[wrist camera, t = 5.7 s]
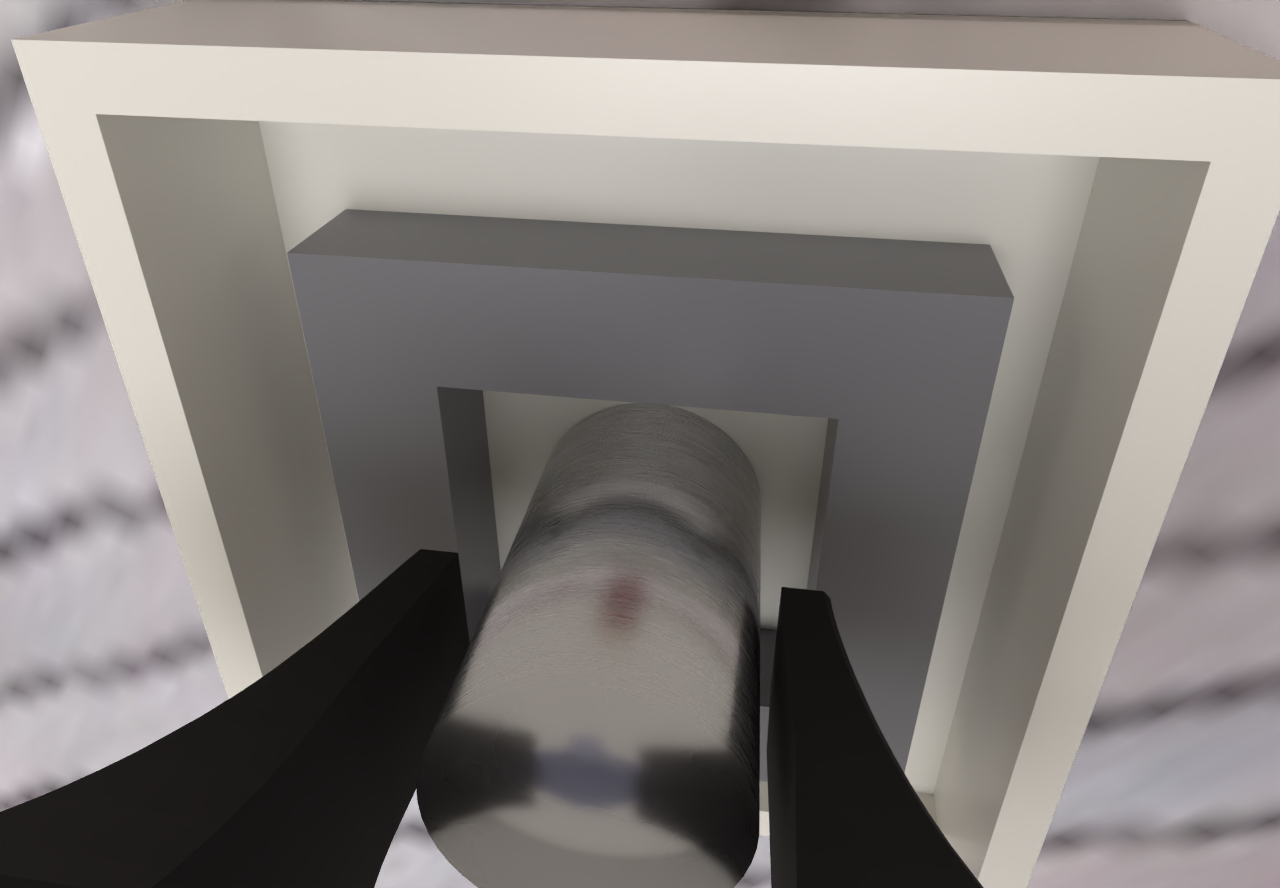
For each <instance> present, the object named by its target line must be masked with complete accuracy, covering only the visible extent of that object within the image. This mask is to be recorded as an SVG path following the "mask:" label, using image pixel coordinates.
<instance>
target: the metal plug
mask: <svg viewBox="0 0 1280 888" xmlns="http://www.w3.org/2000/svg"><path fill="white" fill-rule="evenodd" d="M760 590H761V495H760V490H759V484H758V481H757V478H756V475H755V472H754V469H753V467H752V465H751V463H750V461H749V459H748V458H747V456H746V455H745V454H744V452H743V451H742V449H741V448H740V447H739V446H738V444H737V443H736V442H735V441H734V440H733V439H732V438H731V437H730V436H729V435H728V434H727V433H725V432H724V431H723V430H722V429H721V428H719V427H718V426H716V425H715V424H713V423H712V422H710V421H709V420H707V419H705V418H703V417H701V416H699V415H697V414H695V413H692V412H690V411H687V410H684V409H681V408H677V407H673V406H668V405H658V404H646V403H633V404H626V405H619V406H616V407H612V408H608V409H605V410H602V411H600V412H598V413H595V414H593V415H591V416H589V417H587V418H586V419H584V420H582V421H581V422H579V423H578V424H577V425H575V426H574V427H573V428H571V429H570V430H569V431H568V432H567V433H566V434H565V435H564V436H563V437H562V438H561V439H560V441H559V442H558V444H557V445H556V446H555V448H554V449H553V451H552V453H551V455H550V457H549V459H548V461H547V463H546V466H545V468H544V470H543V473H542V475H541V478H540V480H539V482H538V485H537V487H536V489H535V492H534V494H533V496H532V499H531V501H530V503H529V506H528V508H527V511H526V513H525V515H524V518H523V520H522V522H521V525H520V527H519V529H518V532H517V534H516V537H515V539H514V541H513V544H512V546H511V548H510V551H509V553H508V555H507V558H506V560H505V562H504V565H503V567H502V570H501V572H500V574H499V577H498V579H497V581H496V584H495V586H494V588H493V591H492V593H491V595H490V598H489V600H488V603H487V605H486V607H485V610H484V612H483V614H482V617H481V619H480V621H479V624H478V626H477V629H476V631H475V633H474V636H473V638H472V640H471V643H470V645H469V647H468V650H467V652H466V654H465V657H464V659H463V662H462V664H461V666H460V669H459V671H458V673H457V676H456V678H455V680H454V683H453V685H452V687H451V690H450V692H449V695H448V697H447V699H446V702H445V704H444V706H443V709H442V711H441V713H440V716H439V718H438V721H437V723H436V725H435V728H434V730H433V732H432V735H431V737H430V739H429V742H428V744H427V746H426V749H425V751H424V754H423V756H422V759H421V763H420V766H419V769H418V776H417V786H416V788H417V800H418V805H419V809H420V813H421V817H422V820H423V822H424V824H425V826H426V829H427V831H428V833H429V835H430V837H431V838H432V840H433V841H434V843H435V845H436V846H437V848H438V849H439V850H440V852H441V853H442V854H443V855H444V856H445V858H446V859H447V860H448V861H449V862H450V863H451V864H452V865H453V866H454V867H455V868H456V869H457V870H458V871H459V872H460V873H461V874H462V875H463V876H464V877H466V878H467V879H468V880H469V881H471V882H472V883H473V884H474V885H476V886H477V887H478V888H734V887H735V886H736V884H737V883H738V882H739V881H740V880H741V879H742V877H743V876H744V874H745V873H746V871H747V869H748V868H749V866H750V864H751V863H752V860H753V857H754V855H755V852H756V849H757V844H758V838H759V822H760Z"/></svg>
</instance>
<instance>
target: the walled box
mask: <svg viewBox="0 0 1280 888" xmlns="http://www.w3.org/2000/svg"><path fill="white" fill-rule="evenodd" d="M11 41H12V44H13V47H14V50H15V53H16V56H17V59H18V62H19V65H20V68H21V71H22V74H23V77H24V80H25V83H26V86H27V89H28V92H29V95H30V98H31V101H32V104H33V107H34V110H35V113H36V117H37V120H38V123H39V126H40V129H41V132H42V135H43V138H44V141H45V144H46V147H47V150H48V153H49V156H50V159H51V162H52V165H53V168H54V171H55V174H56V177H57V180H58V183H59V186H60V189H61V192H62V195H63V198H64V201H65V204H66V208H67V211H68V214H69V217H70V220H71V223H72V226H73V229H74V232H75V235H76V238H77V241H78V244H79V247H80V250H81V253H82V256H83V259H84V262H85V265H86V268H87V271H88V274H89V277H90V280H91V283H92V286H93V289H94V292H95V295H96V298H97V302H98V305H99V308H100V311H101V314H102V317H103V320H104V323H105V326H106V329H107V332H108V335H109V338H110V341H111V344H112V347H113V350H114V353H115V356H116V359H117V362H118V365H119V368H120V371H121V374H122V377H123V380H124V383H125V386H126V389H127V393H128V396H129V399H130V402H131V405H132V408H133V411H134V414H135V417H136V420H137V423H138V426H139V429H140V432H141V435H142V438H143V441H144V444H145V447H146V450H147V453H148V456H149V459H150V462H151V465H152V468H153V471H154V474H155V477H156V480H157V483H158V487H159V490H160V493H161V496H162V499H163V502H164V505H165V508H166V511H167V514H168V517H169V520H170V523H171V526H172V529H173V532H174V535H175V538H176V541H177V544H178V547H179V550H180V553H181V556H182V559H183V562H184V565H185V568H186V571H187V574H188V578H189V581H190V584H191V587H192V590H193V593H194V596H195V599H196V602H197V605H198V608H199V611H200V614H201V617H202V620H203V623H204V626H205V629H206V632H207V635H208V638H209V641H210V644H211V647H212V650H213V653H214V656H215V659H216V662H217V665H218V668H219V672H220V675H221V678H222V681H223V684H224V687H225V690H226V693H227V696H228V699H230V698H231V697H233V696H234V695H236V694H238V693H239V692H241V691H242V690H244V689H245V688H247V687H248V686H250V685H251V684H253V683H254V682H256V681H257V680H259V679H260V678H262V677H263V676H264V675H266V674H267V673H269V672H270V671H272V670H273V669H274V668H276V667H277V666H278V665H280V664H281V663H282V662H284V661H285V660H286V659H287V658H289V657H290V656H291V655H293V654H294V653H295V652H297V651H298V650H299V649H301V648H302V647H303V646H305V645H306V644H307V643H309V642H310V641H311V640H313V639H314V638H315V637H316V636H318V635H319V634H320V633H321V632H323V631H324V630H325V629H326V628H327V627H329V626H330V625H331V624H332V623H333V622H335V621H336V620H337V619H338V618H340V617H341V616H342V615H343V614H344V613H346V612H347V611H348V610H349V609H350V608H352V607H353V606H354V605H355V604H356V603H358V602H359V601H360V600H361V599H362V598H363V597H365V596H366V595H367V594H368V593H369V592H370V591H372V590H373V589H374V588H375V587H376V586H377V585H379V584H380V583H381V582H382V581H383V580H384V579H385V578H387V577H388V576H389V575H390V574H391V573H392V572H394V571H395V570H396V569H397V568H398V567H399V566H400V565H402V564H403V563H404V562H405V561H406V560H408V559H409V558H410V557H411V556H413V555H414V554H415V553H416V552H417V551H419V550H420V549H427V550H436V551H446V552H455V553H458V555H459V563H460V571H461V578H462V586H463V594H464V602H465V609H466V617H467V625H468V633H469V641H470V643H471V640H472V638H473V636H474V633H475V631H476V629H477V626H478V624H479V621H480V619H481V617H482V614H483V612H484V610H485V607H486V605H487V603H488V600H489V598H490V595H491V593H492V591H493V588H494V586H495V584H496V581H497V579H498V577H499V574H500V572H501V570H502V567H503V565H504V562H505V560H506V558H507V555H508V553H509V551H510V548H511V546H512V544H513V541H514V539H515V537H516V534H517V532H518V529H519V527H520V525H521V522H522V520H523V518H524V515H525V513H526V511H527V508H528V506H529V503H530V501H531V499H532V496H533V494H534V492H535V489H536V487H537V485H538V482H539V480H540V478H541V475H542V473H543V470H544V468H545V466H546V463H547V461H548V459H549V457H550V455H551V453H552V451H553V449H554V448H555V446H556V445H557V444H558V442H559V441H560V439H561V438H562V437H563V436H564V435H565V434H566V433H567V432H568V431H569V430H570V429H571V428H573V427H574V426H575V425H577V424H578V423H579V422H581V421H582V420H584V419H586V418H587V417H589V416H591V415H593V414H595V413H598V412H600V411H602V410H605V409H608V408H612V407H616V406H619V405H626V404H633V403H646V404H658V405H668V406H673V407H677V408H681V409H684V410H687V411H690V412H692V413H695V414H697V415H699V416H701V417H703V418H705V419H707V420H709V421H710V422H712V423H713V424H715V425H716V426H718V427H719V428H721V429H722V430H723V431H724V432H725V433H727V434H728V435H729V436H730V437H731V438H732V439H733V440H734V441H735V442H736V443H737V444H738V446H739V447H740V448H741V449H742V451H743V452H744V454H745V455H746V456H747V458H748V459H749V461H750V463H751V465H752V467H753V469H754V472H755V475H756V478H757V481H758V484H759V490H760V495H761V590H760V822H759V835H765V836H770V831H769V805H768V778H767V736H768V720H769V705H770V690H771V679H772V670H773V661H774V652H775V642H776V633H777V624H778V615H779V605H780V596H781V587H788V588H798V589H807V590H817V591H824V592H825V593H826V594H827V595H828V596H829V597H830V599H831V604H832V609H833V613H834V617H835V620H836V624H837V627H838V630H839V633H840V636H841V639H842V642H843V645H844V648H845V650H846V653H847V656H848V658H849V661H850V664H851V666H852V668H853V671H854V673H855V676H856V678H857V680H858V683H859V685H860V687H861V689H862V691H863V694H864V696H865V698H866V700H867V703H868V705H869V707H870V709H871V711H872V713H873V715H874V717H875V719H876V721H877V724H878V726H879V728H880V730H881V731H882V733H883V735H884V737H885V739H886V741H887V743H888V745H889V747H890V748H891V750H892V752H893V754H894V756H895V758H896V759H897V761H898V763H899V765H900V766H901V768H902V770H903V772H904V773H905V775H906V777H907V779H908V780H909V782H910V784H911V785H912V787H913V788H914V790H915V792H916V793H917V795H918V796H919V798H920V800H921V801H922V803H923V804H924V806H925V807H926V809H927V811H928V812H929V814H930V815H931V817H932V818H933V820H934V821H935V822H936V824H937V825H938V827H939V828H940V830H941V831H942V833H943V834H944V836H945V837H946V839H947V840H948V842H949V843H950V844H951V846H952V847H953V848H954V850H955V851H956V852H957V854H958V855H959V856H960V858H961V859H962V860H963V861H964V863H965V864H966V865H967V867H968V868H969V869H970V871H971V872H972V873H973V874H974V876H975V877H976V878H977V880H978V881H979V882H980V884H981V885H982V886H983V887H984V888H1027V885H1028V883H1029V880H1030V877H1031V875H1032V872H1033V869H1034V867H1035V864H1036V861H1037V859H1038V856H1039V853H1040V851H1041V848H1042V845H1043V843H1044V840H1045V837H1046V835H1047V832H1048V829H1049V826H1050V824H1051V821H1052V818H1053V816H1054V813H1055V810H1056V808H1057V805H1058V802H1059V800H1060V797H1061V794H1062V792H1063V789H1064V786H1065V784H1066V781H1067V778H1068V776H1069V773H1070V770H1071V768H1072V765H1073V762H1074V760H1075V757H1076V754H1077V752H1078V749H1079V746H1080V743H1081V741H1082V738H1083V735H1084V733H1085V730H1086V727H1087V725H1088V722H1089V719H1090V717H1091V714H1092V711H1093V709H1094V706H1095V703H1096V701H1097V698H1098V695H1099V693H1100V690H1101V687H1102V685H1103V682H1104V679H1105V677H1106V674H1107V671H1108V668H1109V666H1110V663H1111V660H1112V658H1113V655H1114V652H1115V650H1116V647H1117V644H1118V642H1119V639H1120V636H1121V634H1122V631H1123V628H1124V626H1125V623H1126V620H1127V618H1128V615H1129V612H1130V610H1131V607H1132V604H1133V602H1134V599H1135V596H1136V594H1137V591H1138V588H1139V585H1140V583H1141V580H1142V577H1143V575H1144V572H1145V569H1146V567H1147V564H1148V561H1149V559H1150V556H1151V553H1152V551H1153V548H1154V545H1155V543H1156V540H1157V537H1158V535H1159V532H1160V529H1161V527H1162V524H1163V521H1164V519H1165V516H1166V513H1167V510H1168V508H1169V505H1170V502H1171V500H1172V497H1173V494H1174V492H1175V489H1176V486H1177V484H1178V481H1179V478H1180V476H1181V473H1182V470H1183V468H1184V465H1185V462H1186V460H1187V457H1188V454H1189V452H1190V449H1191V446H1192V444H1193V441H1194V438H1195V436H1196V433H1197V430H1198V427H1199V425H1200V422H1201V419H1202V417H1203V414H1204V411H1205V409H1206V406H1207V403H1208V401H1209V398H1210V395H1211V393H1212V390H1213V387H1214V385H1215V382H1216V379H1217V377H1218V374H1219V371H1220V369H1221V366H1222V363H1223V361H1224V358H1225V355H1226V353H1227V350H1228V347H1229V344H1230V342H1231V339H1232V336H1233V334H1234V331H1235V328H1236V326H1237V323H1238V320H1239V318H1240V315H1241V312H1242V310H1243V307H1244V304H1245V302H1246V299H1247V296H1248V294H1249V291H1250V288H1251V286H1252V283H1253V280H1254V278H1255V275H1256V272H1257V269H1258V267H1259V264H1260V261H1261V259H1262V256H1263V253H1264V251H1265V248H1266V245H1267V243H1268V240H1269V237H1270V235H1271V232H1272V229H1273V227H1274V224H1275V221H1276V219H1277V216H1278V213H1279V211H1280V60H1278V59H1276V58H1273V57H1271V56H1269V55H1266V54H1264V53H1262V52H1259V51H1257V50H1255V49H1252V48H1250V47H1248V46H1245V45H1243V44H1241V43H1238V42H1236V41H1234V40H1231V39H1229V38H1227V37H1224V36H1222V35H1220V34H1217V33H1215V32H1213V31H1211V30H1208V29H1206V28H1204V27H1201V26H1199V25H1197V24H1194V23H1192V22H1190V21H1175V20H1134V19H1092V18H1050V17H1009V16H967V15H925V14H884V13H842V12H800V11H758V10H717V9H675V8H633V7H592V6H550V5H508V4H467V3H425V2H383V1H341V0H187V1H183V2H178V3H174V4H169V5H165V6H160V7H156V8H151V9H147V10H142V11H138V12H133V13H129V14H124V15H120V16H115V17H111V18H106V19H102V20H97V21H93V22H88V23H84V24H79V25H75V26H70V27H66V28H61V29H57V30H52V31H48V32H43V33H39V34H34V35H30V36H25V37H21V38H16V39H12V40H11Z"/></svg>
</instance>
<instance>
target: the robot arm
mask: <svg viewBox="0 0 1280 888" xmlns="http://www.w3.org/2000/svg"><path fill="white" fill-rule="evenodd" d="M469 645H470V641H469V633H468V625H467V617H466V609H465V602H464V594H463V586H462V578H461V571H460V563H459V555H458V553H455V552H446V551H436V550H427V549H420V550H419V551H417V552H416V553H415V554H414V555H413V556H411V557H410V558H409V559H408V560H406V561H405V562H404V563H403V564H402V565H400V566H399V567H398V568H397V569H396V570H395V571H394V572H392V573H391V574H390V575H389V576H388V577H387V578H385V579H384V580H383V581H382V582H381V583H380V584H379V585H377V586H376V587H375V588H374V589H373V590H372V591H370V592H369V593H368V594H367V595H366V596H365V597H363V598H362V599H361V600H360V601H359V602H358V603H356V604H355V605H354V606H353V607H352V608H350V609H349V610H348V611H347V612H346V613H344V614H343V615H342V616H341V617H340V618H338V619H337V620H336V621H335V622H333V623H332V624H331V625H330V626H329V627H327V628H326V629H325V630H324V631H323V632H321V633H320V634H319V635H318V636H316V637H315V638H314V639H313V640H311V641H310V642H309V643H307V644H306V645H305V646H303V647H302V648H301V649H299V650H298V651H297V652H295V653H294V654H293V655H291V656H290V657H289V658H287V659H286V660H285V661H284V662H282V663H281V664H280V665H278V666H277V667H276V668H274V669H273V670H272V671H270V672H269V673H267V674H266V675H264V676H263V677H262V678H260V679H259V680H257V681H256V682H254V683H253V684H251V685H250V686H248V687H247V688H245V689H244V690H242V691H241V692H239V693H238V694H236V695H234V696H233V697H231V698H230V699H228V700H227V701H225V702H223V703H222V704H220V705H219V706H217V707H216V708H214V709H212V710H211V711H209V712H207V713H206V714H204V715H202V716H201V717H199V718H197V719H196V720H194V721H192V722H190V723H188V724H186V725H185V726H183V727H181V728H179V729H177V730H176V731H174V732H172V733H170V734H168V735H167V736H165V737H163V738H161V739H159V740H157V741H156V742H154V743H152V744H150V745H148V746H147V747H145V748H143V749H141V750H139V751H137V752H135V753H133V754H131V755H129V756H127V757H125V758H123V759H121V760H119V761H117V762H115V763H113V764H111V765H109V766H107V767H105V768H103V769H101V770H99V771H96V772H94V773H92V774H90V775H88V776H85V777H83V778H81V779H79V780H77V781H74V782H72V783H70V784H68V785H66V786H63V787H61V788H59V789H56V790H54V791H52V792H49V793H47V794H45V795H42V796H40V797H37V798H35V799H32V800H30V801H27V802H25V803H22V804H20V805H17V806H14V807H12V808H9V809H7V810H4V811H2V812H0V888H374V886H375V883H376V880H377V878H378V875H379V872H380V869H381V866H382V864H383V861H384V859H385V856H386V854H387V852H388V849H389V847H390V844H391V842H392V840H393V837H394V835H395V833H396V831H397V829H398V826H399V824H400V822H401V820H402V818H403V816H404V814H405V811H406V809H407V807H408V805H409V803H410V801H411V799H412V796H413V794H414V792H415V790H416V786H417V776H418V769H419V766H420V763H421V759H422V756H423V754H424V751H425V749H426V746H427V744H428V742H429V739H430V737H431V735H432V732H433V730H434V728H435V725H436V723H437V721H438V718H439V716H440V713H441V711H442V709H443V706H444V704H445V702H446V699H447V697H448V695H449V692H450V690H451V687H452V685H453V683H454V680H455V678H456V676H457V673H458V671H459V669H460V666H461V664H462V662H463V659H464V657H465V654H466V652H467V650H468V647H469ZM767 778H768V805H769V831H770V858H771V884H772V888H984V887H983V886H982V885H981V884H980V882H979V881H978V880H977V878H976V877H975V876H974V874H973V873H972V872H971V871H970V869H969V868H968V867H967V865H966V864H965V863H964V861H963V860H962V859H961V858H960V856H959V855H958V854H957V852H956V851H955V850H954V848H953V847H952V846H951V844H950V843H949V842H948V840H947V839H946V837H945V836H944V834H943V833H942V831H941V830H940V828H939V827H938V825H937V824H936V822H935V821H934V820H933V818H932V817H931V815H930V814H929V812H928V811H927V809H926V807H925V806H924V804H923V803H922V801H921V800H920V798H919V796H918V795H917V793H916V792H915V790H914V788H913V787H912V785H911V784H910V782H909V780H908V779H907V777H906V775H905V773H904V772H903V770H902V768H901V766H900V765H899V763H898V761H897V759H896V758H895V756H894V754H893V752H892V750H891V748H890V747H889V745H888V743H887V741H886V739H885V737H884V735H883V733H882V731H881V730H880V728H879V726H878V724H877V721H876V719H875V717H874V715H873V713H872V711H871V709H870V707H869V705H868V703H867V700H866V698H865V696H864V694H863V691H862V689H861V687H860V685H859V683H858V680H857V678H856V676H855V673H854V671H853V668H852V666H851V664H850V661H849V658H848V656H847V653H846V650H845V648H844V645H843V642H842V639H841V636H840V633H839V630H838V627H837V624H836V620H835V617H834V613H833V609H832V604H831V599H830V597H829V596H828V595H827V594H826V593H825V592H824V591H817V590H807V589H798V588H788V587H781V596H780V605H779V615H778V624H777V633H776V642H775V652H774V661H773V670H772V679H771V690H770V705H769V720H768V736H767Z"/></svg>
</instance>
